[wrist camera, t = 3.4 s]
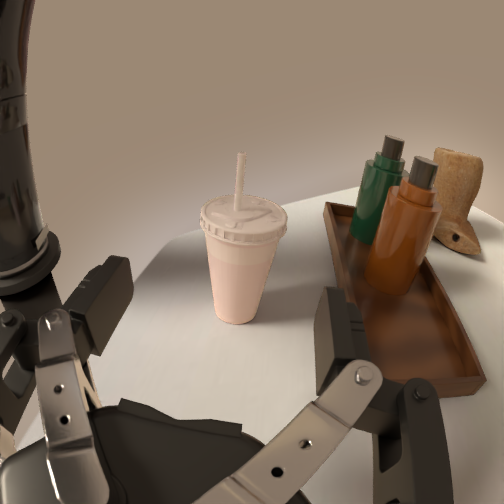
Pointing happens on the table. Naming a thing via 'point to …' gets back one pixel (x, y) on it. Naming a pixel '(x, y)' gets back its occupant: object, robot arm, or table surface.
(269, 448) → the robot arm
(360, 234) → the green bottle
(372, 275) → the amber bottle
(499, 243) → the table surface
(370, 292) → the tray
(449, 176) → the stone cup
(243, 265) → the smoothie
